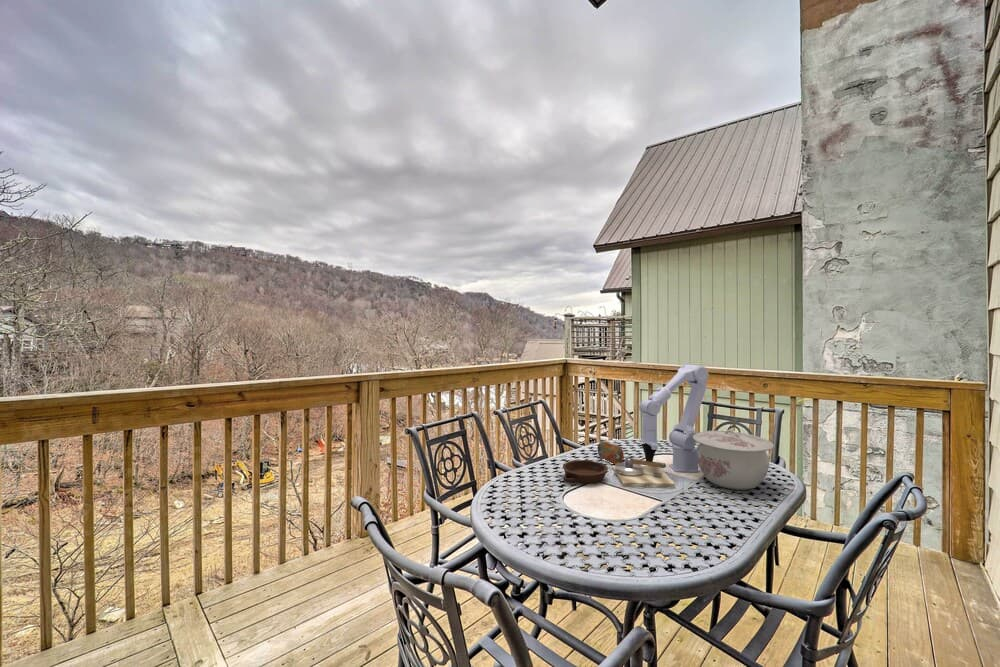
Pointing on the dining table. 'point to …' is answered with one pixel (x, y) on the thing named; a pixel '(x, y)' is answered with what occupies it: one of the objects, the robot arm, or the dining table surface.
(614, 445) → the tin
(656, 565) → the dining table surface
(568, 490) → the dining table surface
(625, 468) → the metal disc with handle
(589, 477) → the dish
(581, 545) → the dining table surface
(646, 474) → the record player
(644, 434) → the robot arm
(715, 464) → the chamber pot
